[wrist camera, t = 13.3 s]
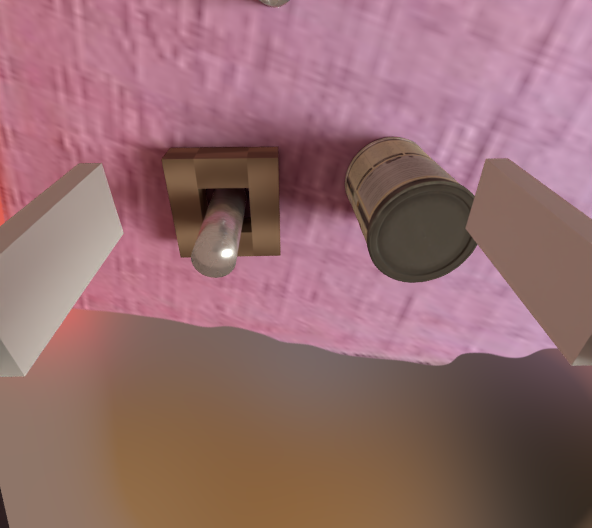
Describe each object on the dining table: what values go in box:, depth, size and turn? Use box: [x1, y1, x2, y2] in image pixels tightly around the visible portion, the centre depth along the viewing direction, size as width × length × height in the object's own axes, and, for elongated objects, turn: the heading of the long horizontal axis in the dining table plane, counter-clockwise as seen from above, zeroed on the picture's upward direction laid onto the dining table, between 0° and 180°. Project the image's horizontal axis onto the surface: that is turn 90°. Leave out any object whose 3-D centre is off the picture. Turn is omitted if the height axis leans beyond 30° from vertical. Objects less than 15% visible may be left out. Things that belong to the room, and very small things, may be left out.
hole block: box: [162, 147, 280, 257], centre depth 44 cm, size 12×12×4 cm
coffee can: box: [345, 137, 477, 283], centre depth 39 cm, size 10×10×14 cm
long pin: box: [191, 188, 247, 278], centre depth 40 cm, size 4×4×14 cm
